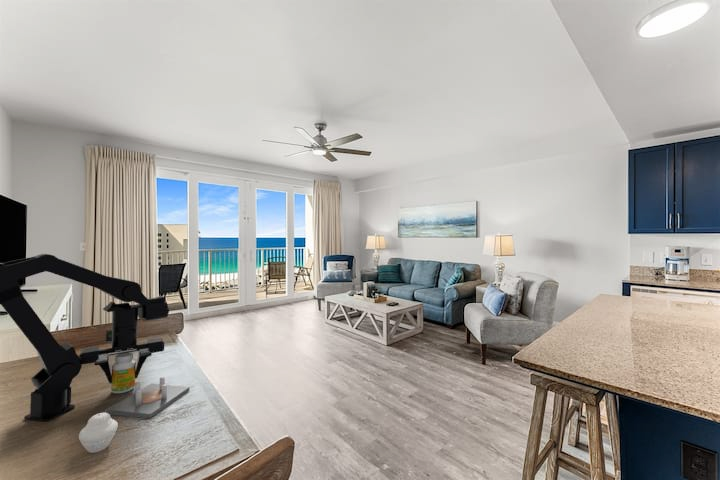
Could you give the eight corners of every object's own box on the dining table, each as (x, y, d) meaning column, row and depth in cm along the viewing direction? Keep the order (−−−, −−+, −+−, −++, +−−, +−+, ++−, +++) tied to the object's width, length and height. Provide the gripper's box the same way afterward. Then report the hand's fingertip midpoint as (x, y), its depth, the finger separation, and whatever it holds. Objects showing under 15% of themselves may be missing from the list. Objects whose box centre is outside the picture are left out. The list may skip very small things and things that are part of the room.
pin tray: (150, 418, 74) (150, 399, 74) (105, 413, 76) (106, 395, 76) (189, 390, 88) (189, 374, 88) (151, 387, 90) (151, 371, 90)
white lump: (85, 462, 59) (86, 425, 59) (73, 450, 63) (74, 415, 63) (123, 444, 65) (123, 411, 65) (110, 434, 68) (111, 402, 68)
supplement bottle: (114, 396, 84) (115, 359, 84) (108, 389, 87) (109, 355, 87) (137, 388, 88) (138, 354, 88) (131, 383, 91) (132, 350, 91)
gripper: (161, 315, 100) (159, 363, 100) (83, 323, 88) (82, 378, 88) (165, 322, 91) (163, 376, 91) (79, 332, 79) (77, 394, 79)
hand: (123, 380), depth 88 cm, fingers closed on supplement bottle, 5 cm apart
